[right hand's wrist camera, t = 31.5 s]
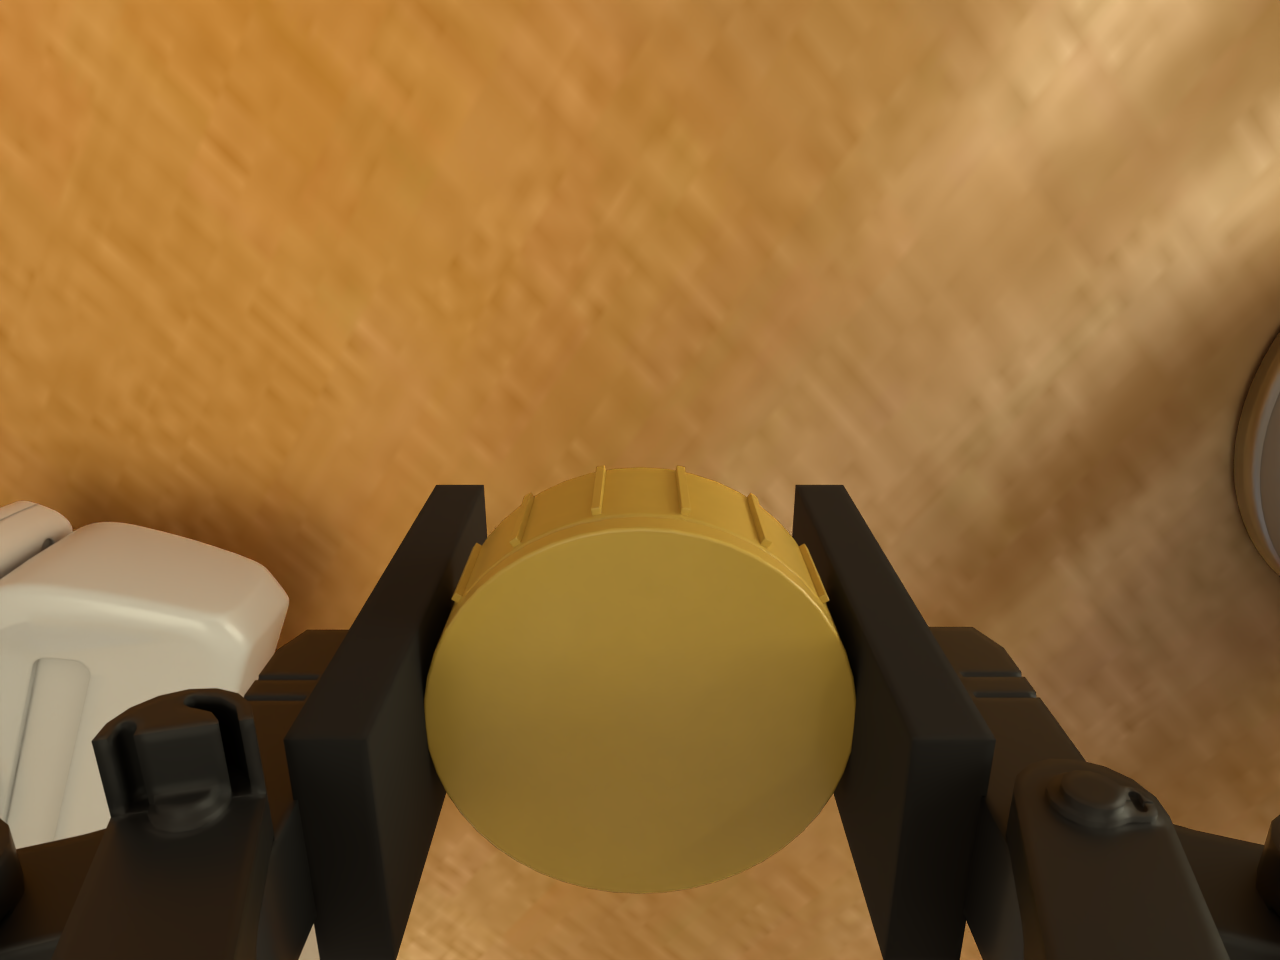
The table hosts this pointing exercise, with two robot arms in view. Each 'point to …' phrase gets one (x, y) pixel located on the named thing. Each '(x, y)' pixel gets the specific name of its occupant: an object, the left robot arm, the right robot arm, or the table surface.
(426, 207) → the table surface
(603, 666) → the lid
